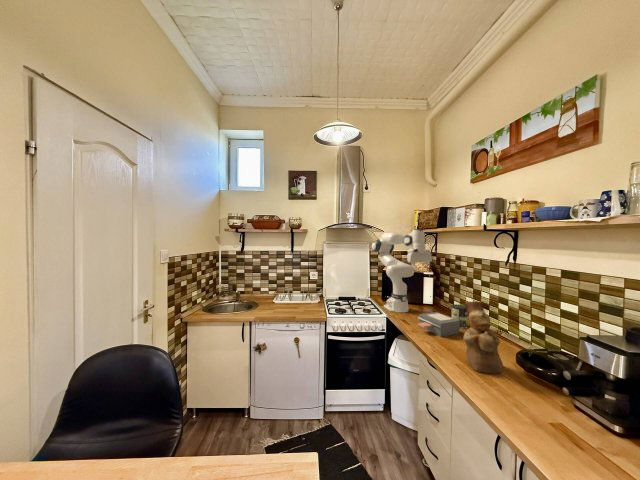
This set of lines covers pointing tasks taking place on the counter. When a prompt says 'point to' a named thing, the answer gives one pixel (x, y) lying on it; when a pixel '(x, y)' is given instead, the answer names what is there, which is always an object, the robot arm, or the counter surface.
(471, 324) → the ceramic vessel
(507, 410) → the counter surface
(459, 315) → the coffee can
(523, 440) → the counter surface
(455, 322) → the dispenser
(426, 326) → the ticket
